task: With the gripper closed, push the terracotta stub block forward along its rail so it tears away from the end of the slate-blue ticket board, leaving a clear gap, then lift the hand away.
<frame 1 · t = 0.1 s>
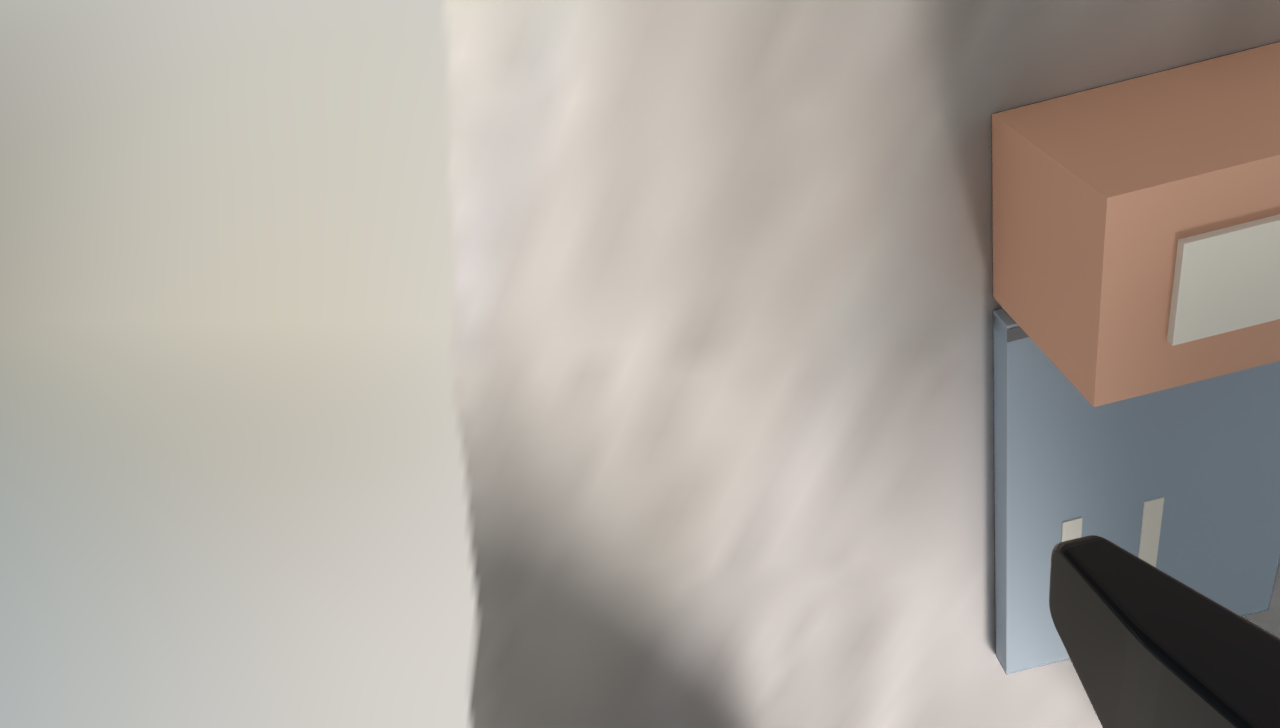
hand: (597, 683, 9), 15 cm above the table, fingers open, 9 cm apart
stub: (1239, 208, 22), point 3 cm above the table, slide at 0.0 cm
ticket: (1139, 469, 29), on the table
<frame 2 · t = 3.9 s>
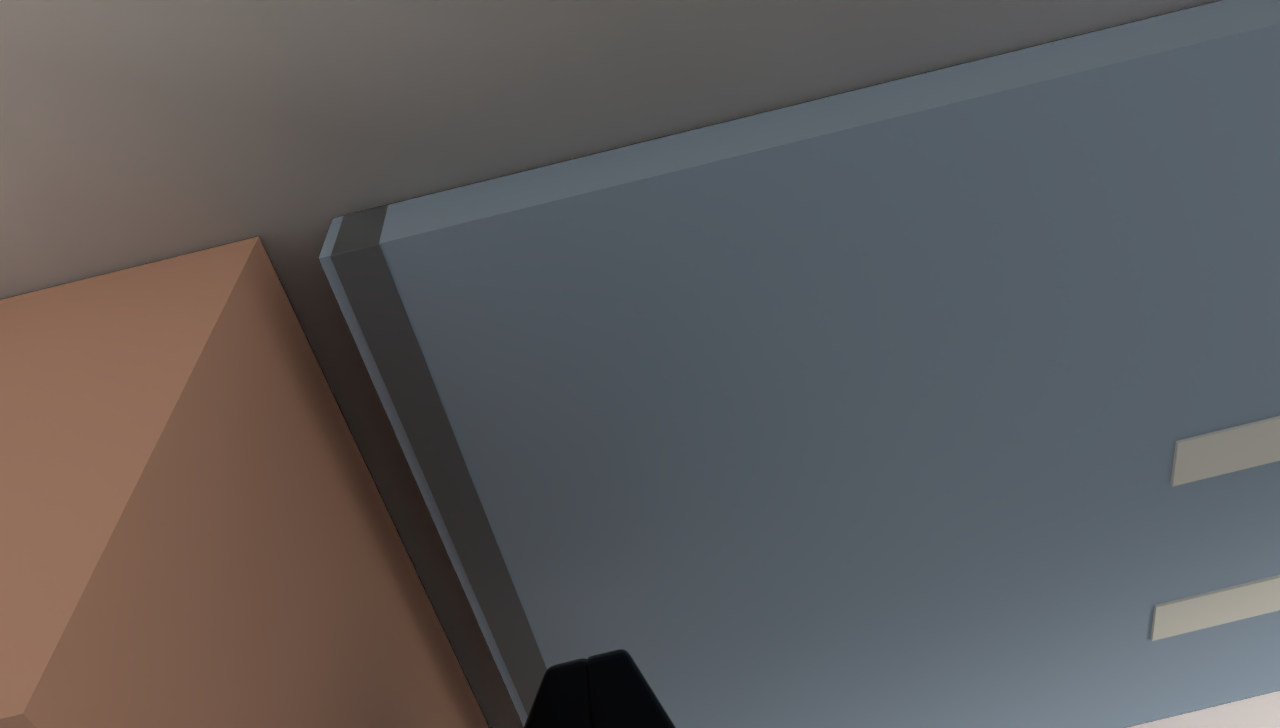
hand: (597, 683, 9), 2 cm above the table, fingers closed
ticket: (1087, 429, 11), on the table
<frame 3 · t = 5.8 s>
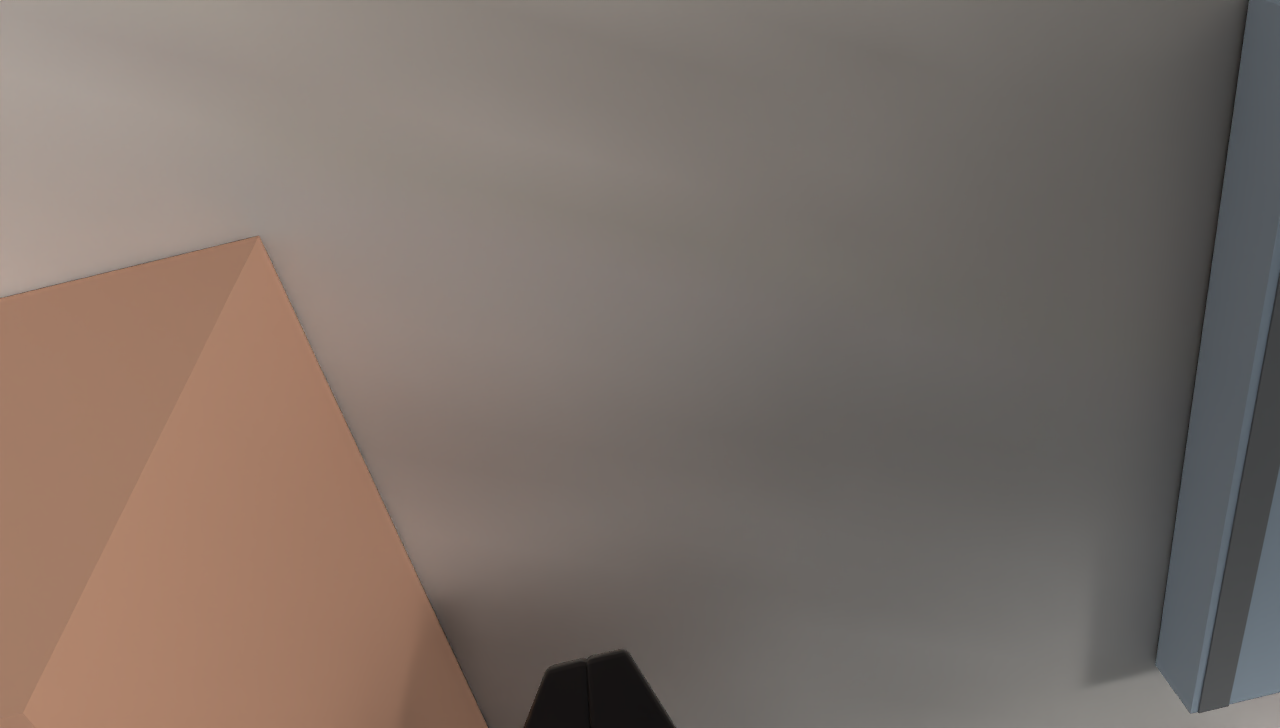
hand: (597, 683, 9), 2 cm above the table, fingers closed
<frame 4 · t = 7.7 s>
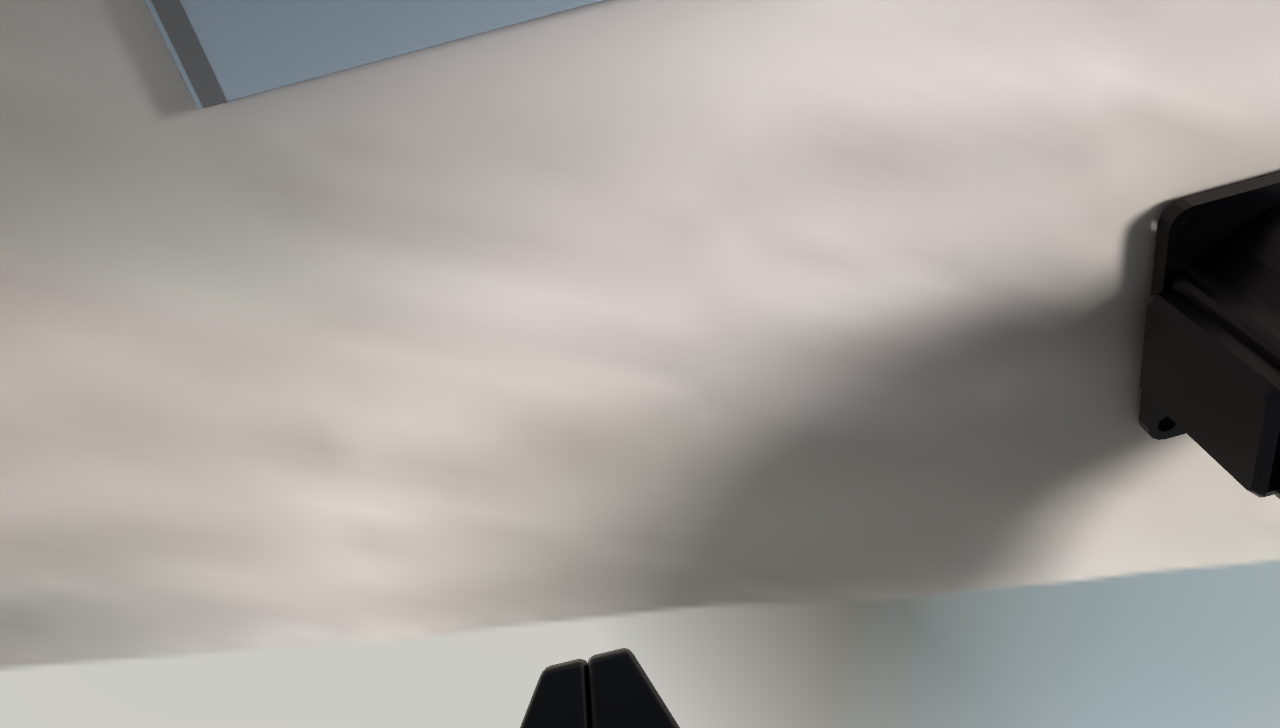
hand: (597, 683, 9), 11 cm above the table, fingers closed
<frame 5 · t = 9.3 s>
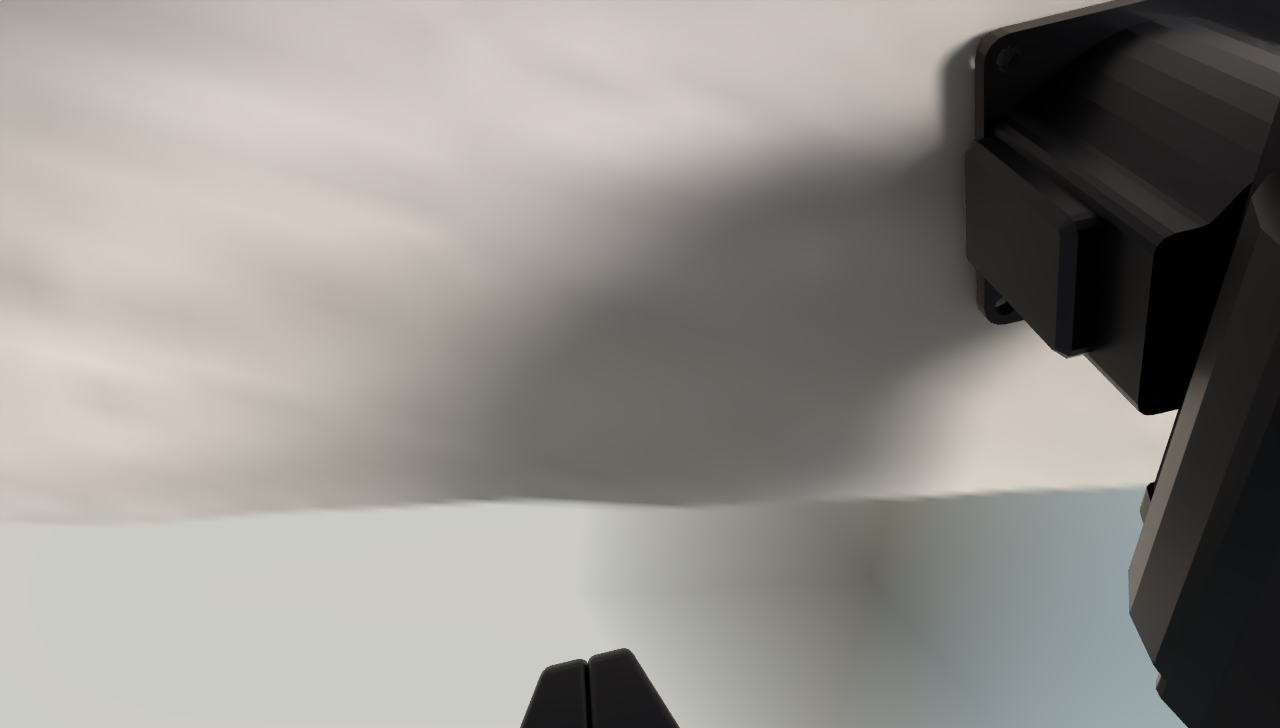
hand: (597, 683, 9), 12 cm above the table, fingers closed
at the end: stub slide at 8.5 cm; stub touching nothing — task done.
